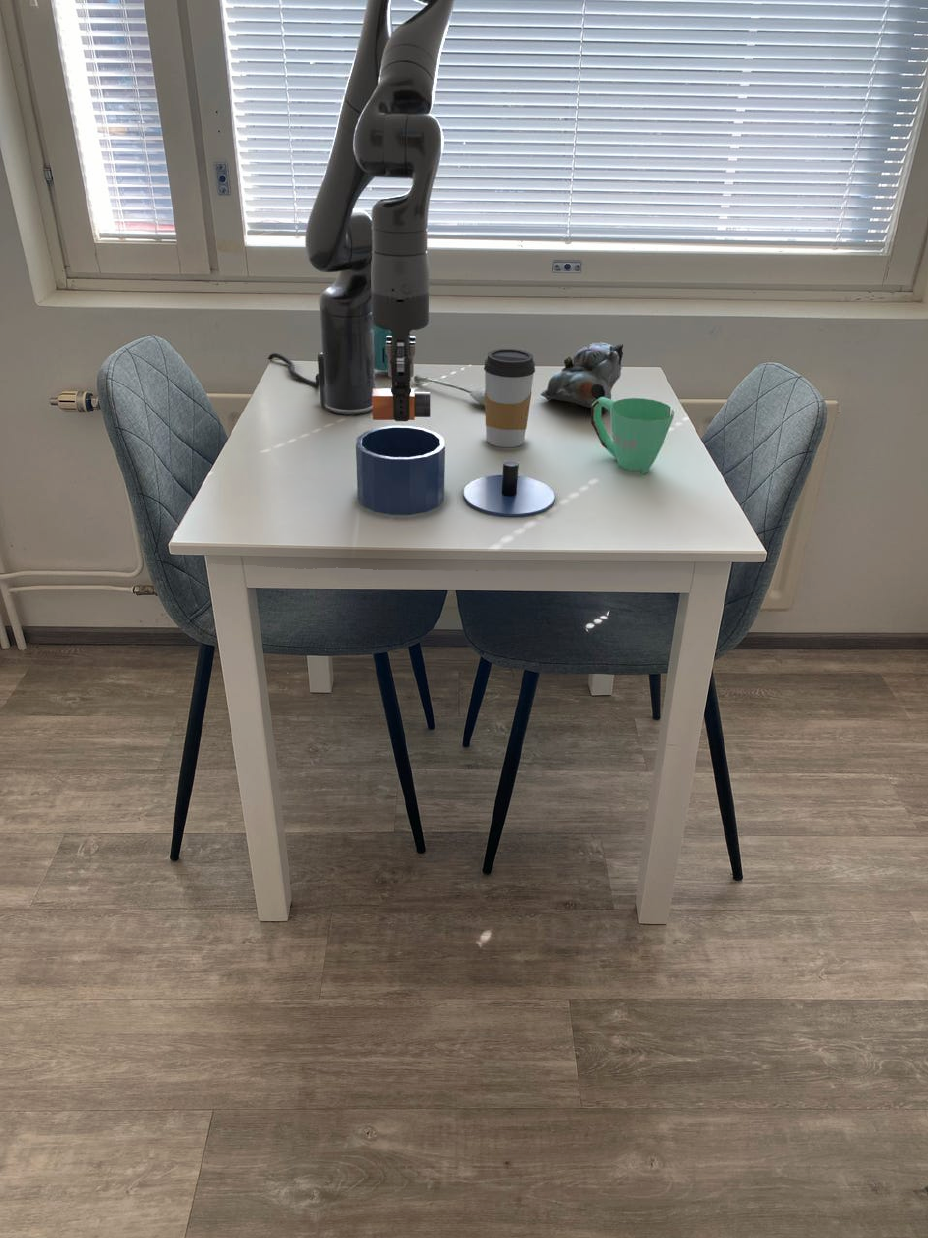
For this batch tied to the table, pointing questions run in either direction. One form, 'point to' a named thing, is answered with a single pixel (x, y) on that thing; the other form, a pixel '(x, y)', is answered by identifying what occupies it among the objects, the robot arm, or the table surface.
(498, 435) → the coffee cup
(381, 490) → the tin
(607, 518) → the table surface
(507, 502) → the tin lid
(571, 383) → the lucky cat figurine
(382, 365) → the beverage bottle
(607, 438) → the mug
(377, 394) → the handle
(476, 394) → the soupspoon
